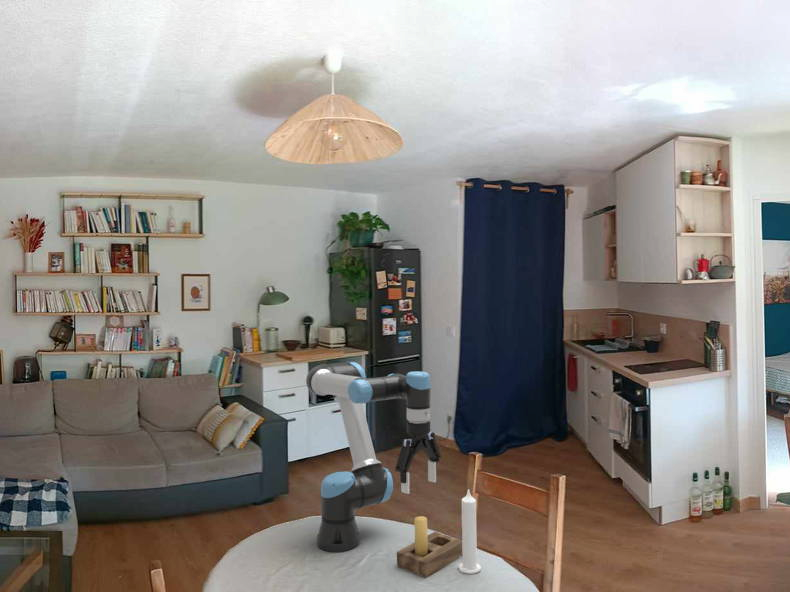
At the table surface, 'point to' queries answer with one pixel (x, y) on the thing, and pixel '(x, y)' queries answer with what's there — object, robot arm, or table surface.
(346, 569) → the table surface
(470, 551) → the candle
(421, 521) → the peg
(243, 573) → the table surface
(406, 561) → the socket block
